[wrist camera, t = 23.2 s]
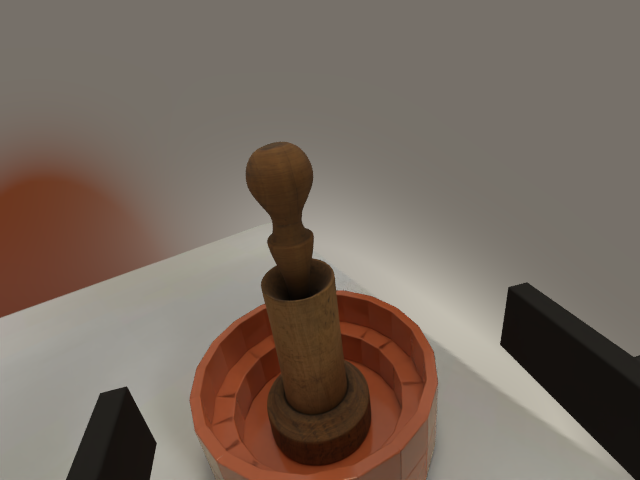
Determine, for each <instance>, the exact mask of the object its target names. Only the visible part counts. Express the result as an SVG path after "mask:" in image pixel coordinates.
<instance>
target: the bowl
mask: <svg viewBox="0 0 640 480" xmlns="http://www.w3.org/2000/svg"><path fill="white" fill-rule="evenodd" d="M336 295H337V304H338V312H339V321H340V330H341V339H342V347H343V355H344V360H346V361H348V362H350V363H352V364H353V365H354V366H356V367H357V368H358V369H359V370H360V371H361V373H362V374H363V375H364V377H365V379H366V381H367V384H368V388H369V394H370V404H371V423H370V428H369V431H368V433H367V436H366V438H365V439H364V441H363V442H362V444H361V445H360V446H359V447H358V448H357V449H356V450H355V451H354V452H353V453H352V454H350V455H349V456H347V457H346V458H344V459H342V460H340V461H337V462H334V463H331V464H326V465H306V464H302V463H299V462H296V461H294V460H292V459H291V458H289V457H288V456H287V455H286V454H284V453H283V452H282V450H281V449H280V448H279V447H278V445H277V443H276V441H275V439H274V437H273V433H272V429H271V425H270V421H269V417H268V412H267V399H268V394H269V391H270V388H271V386H272V384H273V383H274V381H275V380H276V378H277V377H278V376H279V375H280V374H281V370H280V366H279V361H278V356H277V352H276V347H275V343H274V339H273V334H272V330H271V326H270V321H269V317H268V313H267V309H266V305H265V304H263V305H260V306H259V307H257V308H255V309H254V310H252V311H250V312H249V313H247V314H246V315H244V316H242V317H241V318H239V319H237V320H236V321H235V322H233V323H232V324H231V325H230V326H229V327H228V328H227V329H226V330H225V331H224V332H223V333H221V334H220V335H219V336H218V337H217V338H216V339H215V340H214V341H213V343H212V344H211V345H210V347H209V349H208V350H207V352H206V354H205V355H204V357H203V358H202V360H201V362H200V363H199V365H198V367H197V369H196V373H195V377H194V381H193V386H192V390H191V394H190V406H191V412H192V418H193V423H194V429H195V432H196V435H197V437H198V440H199V442H200V444H201V446H202V449H203V451H204V453H205V456H206V458H207V460H208V463H209V465H210V467H211V470H212V472H213V474H214V477H215V479H216V480H426V478H427V475H428V471H429V467H430V463H431V459H432V455H433V450H434V446H435V438H436V416H437V394H438V378H437V371H436V364H435V357H434V352H433V349H432V348H431V346H430V344H429V343H428V341H427V339H426V338H425V336H424V334H423V333H422V331H421V329H420V327H418V325H417V324H416V323H414V322H413V321H412V320H411V319H410V318H409V317H407V316H406V315H405V314H404V313H402V312H401V311H400V310H399V309H398V308H396V307H394V306H392V305H390V304H388V303H385V302H383V301H381V300H379V299H377V298H375V297H371V296H368V295H363V294H358V293H354V292H349V291H336Z"/></svg>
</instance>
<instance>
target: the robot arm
mask: <svg viewBox="0 0 640 480" xmlns="http://www.w3.org/2000/svg"><path fill="white" fill-rule="evenodd" d="M500 345H501V346H502V347H503V348H504V349H505V350H506V351H507V352H508V353H509V354H510V355H511V356H512V357H513V358H514V359H515V360H516V361H517V362H518V363H519V364H520V365H521V366H522V367H523V368H524V369H525V370H526V371H527V372H528V373H529V374H530V375H531V376H532V377H533V378H534V379H535V380H536V381H537V382H538V383H539V384H540V385H541V386H542V387H543V388H544V389H545V390H546V391H547V392H548V393H549V394H550V395H551V396H552V397H553V398H554V399H555V400H556V401H557V402H558V403H559V404H560V405H561V406H562V407H563V408H564V409H565V410H566V411H567V412H568V413H569V414H570V415H571V416H572V417H573V418H574V419H575V420H576V421H577V422H578V423H579V424H580V425H581V426H582V427H583V428H584V429H585V430H586V431H587V432H588V433H589V434H590V435H591V436H592V437H593V438H594V439H595V440H596V441H597V442H598V443H599V444H600V445H601V446H602V447H603V448H604V449H605V450H606V451H607V452H608V453H609V454H610V455H611V456H612V457H613V458H614V459H615V460H616V461H617V462H618V463H619V464H620V465H621V466H622V467H623V468H624V469H625V470H626V471H627V472H628V473H629V474H630V475H631V476H632V477H633V478H634V479H635V480H640V355H639V356H636V357H633V356H631V355H630V354H628V353H627V352H626V351H624V350H623V349H621V348H620V347H618V346H617V345H616V344H614V343H613V342H611V341H610V340H608V339H607V338H606V337H604V336H603V335H601V334H600V333H598V332H597V331H596V330H594V329H593V328H591V327H590V326H588V325H587V324H586V323H584V322H583V321H581V320H580V319H579V318H577V317H576V316H574V315H573V314H571V313H570V312H569V311H567V310H565V309H564V308H563V307H561V306H560V305H559V304H557V303H556V302H554V301H553V300H551V299H550V298H549V297H547V296H546V295H544V294H543V293H541V292H540V291H539V290H537V289H535V288H534V287H533V286H531V285H530V284H529V283H523V284H519V285H515V286H511V287H509V288H508V294H507V301H506V308H505V315H504V322H503V329H502V336H501V343H500ZM156 444H157V443H156V441H155V439H154V437H153V435H152V434H151V432H150V430H149V428H148V426H147V424H146V422H145V420H144V418H143V416H142V414H141V413H140V411H139V409H138V407H137V405H136V403H135V401H134V399H133V397H132V395H131V393H130V392H129V390H128V388H127V387H123V388H119V389H115V390H111V391H108V392H104V393H100V395H99V398H98V400H97V403H96V405H95V408H94V410H93V413H92V415H91V418H90V420H89V423H88V425H87V428H86V430H85V433H84V436H83V438H82V441H81V443H80V446H79V448H78V451H77V453H76V456H75V458H74V461H73V463H72V466H71V468H70V471H69V473H68V476H67V478H66V480H150V475H151V470H152V465H153V460H154V454H155V449H156Z"/></svg>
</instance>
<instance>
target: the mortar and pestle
mask: <svg viewBox="0 0 640 480" xmlns="http://www.w3.org/2000/svg"><path fill="white" fill-rule="evenodd" d="M246 182H247V186H248V188H249V191H250V192H251V194H252V195H253V197H254V198H255V199H256V200H257V201H258V203H259V204H260V205H261V206H262V207H263V208H264V209H265V210H266V212H267V213H268V214H269V215H270V217H271V219H272V223H273V233H272V234H271V235H270V236H269V238H268V240H267V243H268V247H269V249H270V252H271V254H272V256H273V258H274V260H275V262H276V264H277V266H275V267H273V268H272V269H271V270H269V271H268V272H267V273H266V274H265V276H264V277H263V279H262V282H261V288H262V293H263V297H264V301H265V305H266V309H267V313H268V317H269V321H270V326H271V330H272V334H273V339H274V343H275V347H276V352H277V356H278V361H279V366H280V370H281V374H280V375H279V376H278V377H277V378H276V380H275V381H274V383H273V384H272V386H271V388H270V391H269V394H268V399H267V412H268V417H269V421H270V425H271V429H272V433H273V437H274V439H275V441H276V443H277V445H278V447H279V448H280V449H281V450H282V452H283V453H284V454H286V455H287V456H288V457H289V458H291V459H292V460H294V461H296V462H299V463H302V464H306V465H326V464H331V463H334V462H337V461H340V460H342V459H344V458H346V457H347V456H349V455H350V454H352V453H353V452H354V451H355V450H356V449H357V448H358V447H359V446H360V445H361V444H362V442H363V441H364V439H365V438H366V436H367V433H368V431H369V428H370V423H371V404H370V394H369V388H368V384H367V381H366V379H365V377H364V375H363V374H362V373H361V371H360V370H359V369H358V368H357V367H356V366H354V365H353V364H352V363H350V362H348V361H346V360H344V355H343V347H342V339H341V330H340V321H339V312H338V304H337V295H336V286H335V277H334V272H333V269H332V268H331V267H330V266H329V265H328V264H327V263H325V262H323V261H321V260H318V259H313V258H312V253H313V242H314V236H313V233H312V231H311V230H309V229H306V228H304V226H303V224H302V220H301V218H302V210H303V207H304V204H305V202H306V200H307V198H308V194H309V192H310V190H311V186H312V183H313V170H312V166H311V163H310V161H309V159H308V157H307V156H306V154H305V153H304V152H303V151H302V150H301V149H300V148H299V147H298V146H296V145H293V144H291V143H288V142H276V143H271V144H268V145H265V146H263V147H261V148H259V149H257V150H256V151H255V152H254V153H253V154H252V155H251V157H250V158H249V161H248V163H247V167H246Z"/></svg>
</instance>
